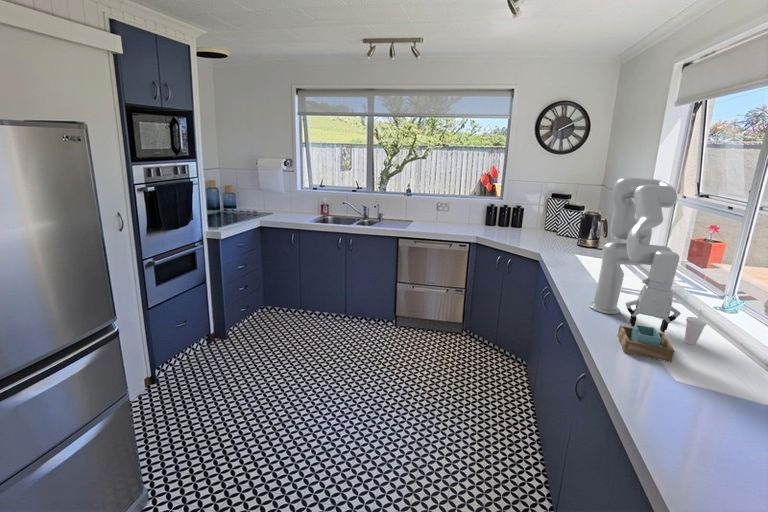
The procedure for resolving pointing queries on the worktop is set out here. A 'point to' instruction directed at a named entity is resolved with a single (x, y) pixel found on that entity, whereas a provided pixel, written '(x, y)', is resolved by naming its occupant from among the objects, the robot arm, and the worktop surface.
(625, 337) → the big crate
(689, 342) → the smoothie
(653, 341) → the small crate
